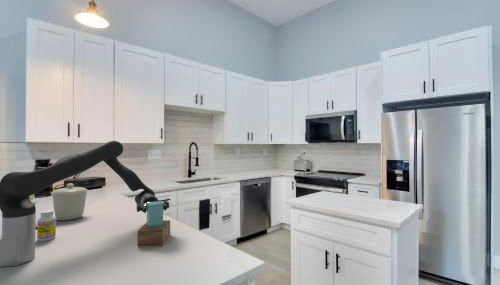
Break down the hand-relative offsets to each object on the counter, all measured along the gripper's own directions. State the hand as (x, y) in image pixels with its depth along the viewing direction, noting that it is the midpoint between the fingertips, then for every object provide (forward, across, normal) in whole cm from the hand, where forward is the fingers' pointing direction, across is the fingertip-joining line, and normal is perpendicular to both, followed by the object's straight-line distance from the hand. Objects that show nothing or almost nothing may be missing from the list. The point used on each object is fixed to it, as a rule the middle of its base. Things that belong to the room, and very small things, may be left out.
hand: (155, 209), depth 111 cm
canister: (-66, -38, +15) cm, 78 cm away
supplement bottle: (-30, -43, +15) cm, 54 cm away
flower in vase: (-54, -53, +15) cm, 77 cm away
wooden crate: (-1, 0, +14) cm, 15 cm away
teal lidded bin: (-1, 0, +8) cm, 8 cm away
